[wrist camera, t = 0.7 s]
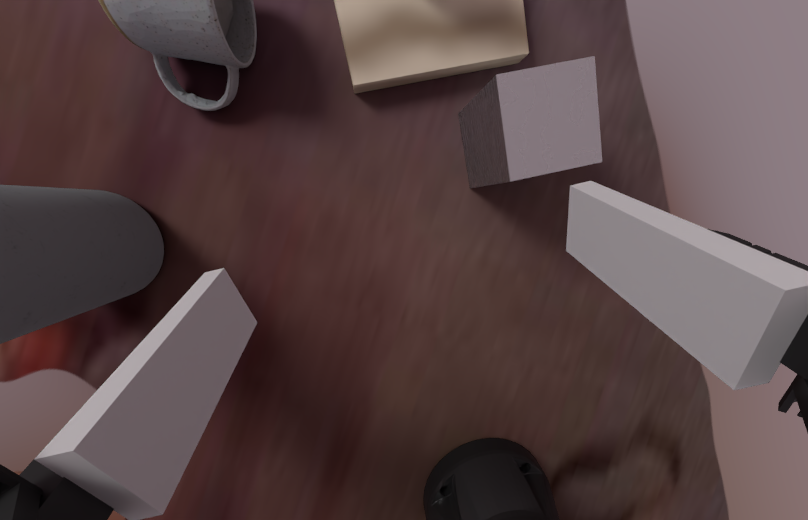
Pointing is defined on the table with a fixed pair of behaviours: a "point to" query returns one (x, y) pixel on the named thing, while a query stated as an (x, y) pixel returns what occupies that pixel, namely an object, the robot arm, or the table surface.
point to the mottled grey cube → (532, 123)
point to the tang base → (428, 38)
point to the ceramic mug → (190, 37)
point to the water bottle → (70, 254)
